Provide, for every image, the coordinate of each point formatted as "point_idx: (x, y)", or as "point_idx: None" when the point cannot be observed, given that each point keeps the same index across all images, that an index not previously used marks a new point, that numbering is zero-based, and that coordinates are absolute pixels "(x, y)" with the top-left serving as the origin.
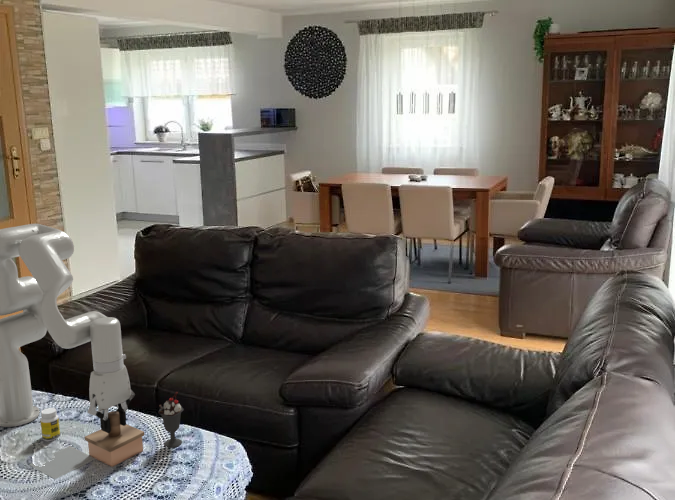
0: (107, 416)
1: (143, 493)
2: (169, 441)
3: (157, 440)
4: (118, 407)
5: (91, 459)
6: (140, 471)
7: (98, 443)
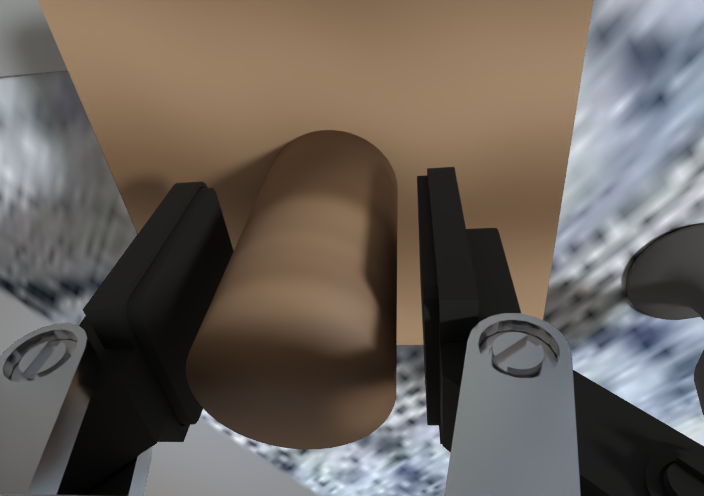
0: (142, 475)
1: (261, 452)
2: (678, 281)
3: (687, 162)
4: (460, 386)
5: None
6: None
7: (133, 220)
